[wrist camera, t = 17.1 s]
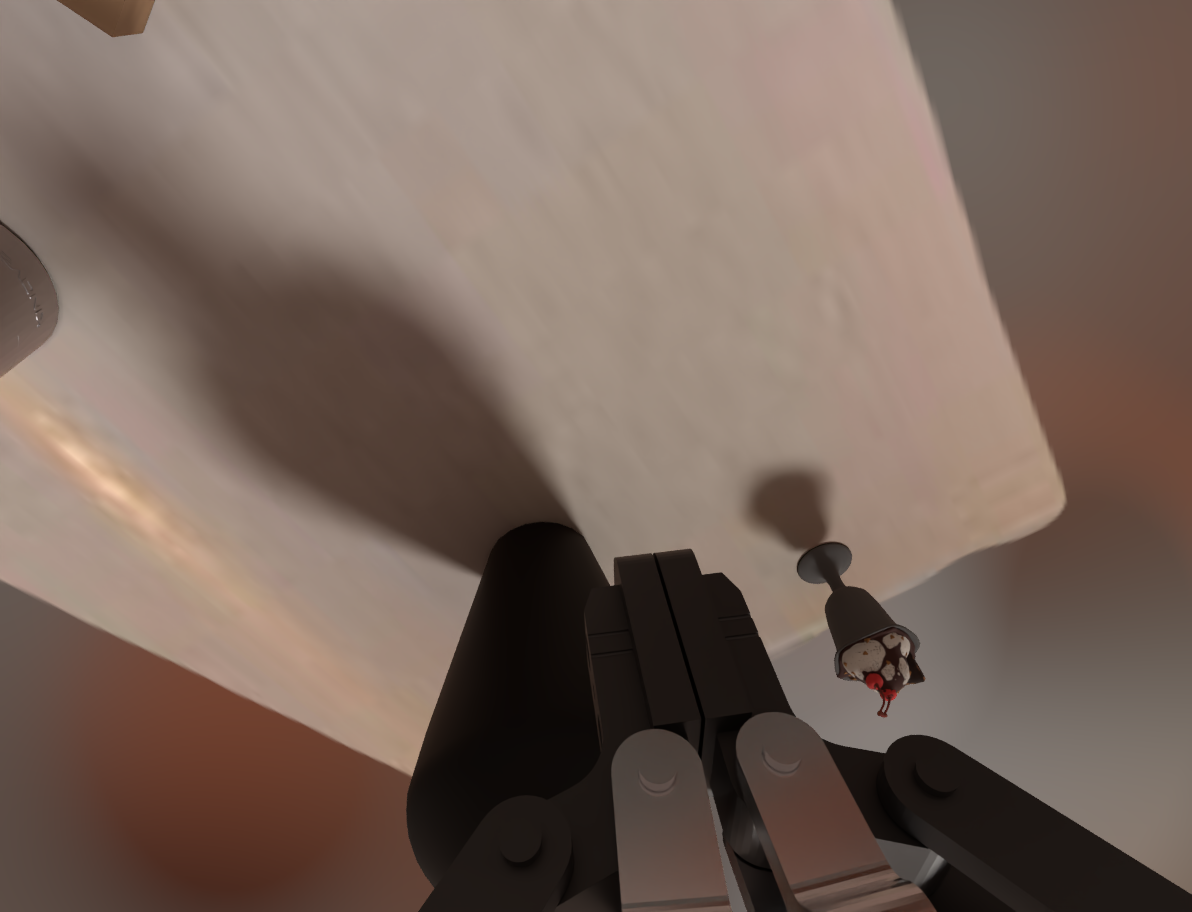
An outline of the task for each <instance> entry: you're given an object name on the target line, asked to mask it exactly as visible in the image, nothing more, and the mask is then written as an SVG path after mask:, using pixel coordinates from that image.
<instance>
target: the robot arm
mask: <svg viewBox="0 0 1192 912" xmlns="http://www.w3.org/2000/svg"><path fill="white" fill-rule="evenodd" d="M58 311H59V306H58V300H57V295H56V291H55V289H54V286H53V284H52V281H51V279H50V277H49V275H48V273H47V272H46V270H45V269H44V267H43V266H42V264H41V263H40V261H39V260H38V258H37V257H36V256H35V255H34V254H33V253H32V252H31V251H30V249H29V248H28V247H27V246H26V245H25V244H24V243H23V242H22V241H21V240H20V239H18V238H17V237H16V236H15V235H14V234H12V233H11V232H10V231H9V230H8V229H6V228H5V227H4V226H2V225H0V378H1V377H2V376H3V375H5V374H6V373H7V372H8V371H10V370H11V369H12V368H14V367H15V366H16V365H17V364H19V363H20V362H21V361H22V360H24V359H25V358H26V357H27V356H29V355H30V354H31V353H32V352H34V351H35V350H36V349H38V348H39V347H40V346H41V345H43V343H44V342H45V341H46V340H47V339H48V338H49V337H50V336H51V335H52V333H53V331H54V329H55V327H56V324H57V320H58ZM584 618H585V633H586V648H587V662H588V669H589V675H590V682H591V688H592V696H593V703H594V709H595V716H596V723H597V730H598V737H599V744H600V750H601V753H600V756H599V759H598V761H597V763H596V765H595V766H594V768H593V769H592V771H591V772H590V773H589V774H588V775H587V776H586V777H585V778H584V779H583V780H582V781H580V782H579V783H577V784H576V785H574V786H573V787H571V788H569V789H567V790H565V791H563V792H561V793H560V794H558V795H556V796H554V797H552V798H550V799H548V800H546V799H544V798H541V797H537V796H530V795H524V796H517V797H513V798H510V799H507V800H505V801H503V802H501V803H500V804H498V805H497V806H495V807H494V808H493V809H492V810H491V811H490V812H489V813H488V814H487V815H486V816H485V817H484V819H483V820H482V821H481V823H480V824H479V826H478V827H477V828H476V830H475V831H474V833H473V834H472V836H471V837H470V838H469V840H468V841H467V843H466V844H465V846H464V847H463V848H462V850H461V851H460V853H459V854H458V856H457V857H456V859H455V860H454V861H453V863H452V864H451V866H450V867H449V869H448V870H447V871H446V873H445V874H444V876H443V877H442V879H441V880H440V881H439V883H438V884H437V886H436V887H435V889H434V890H433V891H432V893H431V894H430V896H429V897H428V899H427V900H426V902H425V903H424V904H423V906H422V907H421V909H420V910H419V911H418V912H732V908H731V905H730V901H729V896H728V891H727V886H726V881H725V876H724V871H723V866H722V861H721V856H720V851H719V846H718V841H717V835H716V830H715V825H714V820H713V815H712V810H711V805H710V800H709V797H714V800H715V804H716V807H717V811H718V815H719V818H720V822H721V825H722V829H723V833H722V835H723V843H724V846H725V849H726V852H727V855H728V858H729V861H730V864H731V867H732V870H733V873H734V875H735V878H736V881H737V884H738V887H739V890H740V892H741V895H742V898H743V901H744V904H745V907H746V910H747V912H1192V894H1190V893H1188V892H1187V891H1185V890H1183V889H1182V888H1180V887H1179V886H1177V885H1175V884H1174V883H1172V882H1171V881H1169V880H1167V879H1166V878H1164V877H1163V876H1161V875H1159V874H1158V873H1156V872H1155V871H1153V870H1151V869H1150V868H1148V867H1147V866H1145V865H1143V864H1142V863H1140V862H1139V861H1137V860H1135V859H1134V858H1132V857H1130V856H1129V855H1127V854H1126V853H1124V852H1122V851H1121V850H1119V849H1118V848H1116V847H1114V846H1113V845H1111V844H1110V843H1108V842H1106V841H1104V840H1103V839H1101V838H1100V837H1098V836H1097V835H1095V834H1093V833H1092V832H1090V831H1089V830H1087V829H1085V828H1084V827H1082V826H1081V825H1079V824H1077V823H1076V822H1074V821H1072V820H1071V819H1069V818H1068V817H1066V816H1064V815H1063V814H1061V813H1059V812H1058V811H1056V810H1055V809H1053V808H1051V807H1050V806H1048V805H1047V804H1045V803H1043V802H1042V801H1040V800H1039V799H1037V798H1035V797H1034V796H1032V795H1031V794H1029V793H1027V792H1026V791H1024V790H1022V789H1021V788H1019V787H1018V786H1016V785H1015V784H1013V783H1011V782H1010V781H1008V780H1006V779H1005V778H1003V777H1002V776H1000V775H998V774H997V773H995V772H993V771H992V770H990V769H989V768H987V767H986V766H984V765H982V764H981V763H979V762H978V761H976V760H974V759H973V758H971V757H969V756H968V755H966V754H965V753H963V752H961V751H960V750H958V749H957V748H955V747H953V746H951V745H950V744H948V743H946V742H944V741H942V740H939V739H937V738H933V737H930V736H924V735H909V736H905V737H902V738H900V739H897V740H896V741H895V742H894V743H892V744H891V745H890V747H889V748H888V750H887V752H886V753H880V752H874V751H868V750H863V749H857V748H851V747H845V746H841V745H837V744H834V743H831V742H828V741H826V740H824V739H822V738H821V737H820V736H819V735H818V734H817V732H816V731H815V730H814V729H813V728H812V727H811V726H809V725H808V724H807V723H805V722H804V721H802V720H801V719H799V718H797V717H796V716H795V715H794V713H793V712H792V710H791V708H790V706H789V704H788V701H787V699H786V697H785V694H784V692H783V690H782V687H781V685H780V683H779V680H778V678H777V675H776V673H775V671H774V668H773V666H772V664H771V661H770V659H769V657H768V654H767V652H766V649H765V647H764V645H763V642H762V640H761V638H760V637H759V635H758V631H757V628H756V626H755V624H754V621H753V619H752V618H751V616H750V612H749V609H748V607H747V605H746V602H745V600H744V598H743V595H742V593H741V591H740V590H739V589H738V588H737V587H736V586H735V585H734V584H733V583H732V582H731V581H730V580H729V579H728V578H727V577H726V576H725V575H724V574H723V573H722V572H721V573H713V574H705V575H702V574H701V571H700V568H699V566H698V563H697V560H696V557H695V555H694V553H693V551H692V550H691V549H684V550H676V551H667V552H659V553H654V554H653V555H652V554H651V553H649V554H641V555H633V556H624V557H616V558H614V586H606V587H598V588H592V589H591V592H590V595H589V598H588V600H587V603H586V606H585V609H584Z"/></svg>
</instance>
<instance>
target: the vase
mask: <svg viewBox="0 0 1192 912" xmlns="http://www.w3.org/2000/svg"><path fill="white" fill-rule="evenodd" d="M606 586H610V584H609V582H608V581H607V579H606V577H605V575H604V573H603V571H602V569H601V567H600V566H599V564H598V562H597V560H596V558H595V556H594V554H593V552H592V551H591V549H590V547H589V545H588V544H587V542H586V540H585V539H584V537H583V536H581V535H580V534H579V533H578V532H576V531H575V530H574V529H572V528H569V527H566V526H564V525H561V524H558V523H547V522H539V523H532V524H525V525H523V526H520V527H518V528H515V529H513V530H510V531H509V532H508V533H507V534H505V535H504V536H503V537H501V538H500V539H499V540H498V542H497V543H496V545H495V546H494V548H493V549H492V551H491V553H490V556H489V559H488V562H487V565H486V567H485V570H484V573H483V576H482V578H481V581H480V584H479V587H478V590H477V592H476V595H475V598H474V601H473V604H472V606H471V609H470V612H469V615H468V617H467V620H466V623H465V626H464V629H463V631H462V634H461V637H460V640H459V643H458V645H457V648H456V651H455V654H454V656H453V659H452V662H451V665H450V668H449V670H448V673H447V676H446V679H445V682H444V684H443V687H442V690H441V693H440V696H439V698H438V701H437V704H436V707H435V709H434V712H433V715H432V718H431V721H430V723H429V726H428V729H427V732H426V735H425V738H424V741H423V744H422V748H421V751H420V754H419V757H418V760H417V763H416V767H415V770H414V773H413V776H412V779H411V783H410V786H409V790H408V793H407V808H406V812H407V827H408V835H409V839H410V842H411V845H412V848H413V852H414V854H415V857H416V860H417V862H418V864H419V866H420V868H421V869H422V871H423V873H424V874H425V876H426V877H427V879H428V880H429V881H430V883H431V884H432V885H433V887H434V888H435V887H436V886H437V884H438V883H439V881H440V880H441V879H442V877H443V876H444V874H445V873H446V871H447V870H448V869H449V867H450V866H451V864H452V863H453V861H454V860H455V859H456V857H457V856H458V854H459V853H460V851H461V850H462V848H463V847H464V846H465V844H466V843H467V841H468V840H469V838H470V837H471V836H472V834H473V833H474V831H475V830H476V828H477V827H478V826H479V824H480V823H481V821H482V820H483V819H484V817H485V816H486V815H487V814H488V813H489V812H490V811H491V810H492V809H493V808H494V807H495V806H497V805H498V804H500V803H501V802H503V801H505V800H507V799H510V798H513V797H517V796H524V795H530V796H537V797H541V798H544V799H546V800H548V799H550V798H552V797H554V796H556V795H558V794H560V793H561V792H563V791H565V790H567V789H569V788H571V787H573V786H574V785H576V784H577V783H579V782H580V781H582V780H583V779H584V778H585V777H586V776H587V775H588V774H589V773H590V772H591V771H592V769H593V768H594V766H595V765H596V763H597V761H598V759H599V756H600V753H601V750H600V744H599V737H598V730H597V723H596V716H595V709H594V703H593V696H592V688H591V682H590V675H589V669H588V662H587V648H586V633H585V618H584V609H585V606H586V603H587V600H588V598H589V595H590V592H591V589H592V588H598V587H606Z"/></svg>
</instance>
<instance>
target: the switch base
mask: <svg viewBox="0 0 1192 912" xmlns="http://www.w3.org/2000/svg"><path fill="white" fill-rule="evenodd" d="M57 1H59V2H60V3H62V4H63V5H65V6H66V7H68V8H69V9H71V10H72V11H74V12H75V13H77V14H78V15H80V16H81V17H83V18H84V19H86V20H87V21H89V22H90V23H92V24H93V25H95V26H96V27H98V28H99V29H101V30H102V31H104V32H105V33H107V34H108V35H110V36H111V37H118V36H125V35H132V34H139V33H143V31H144V28H145V26H146V23H147V20H148V18H149V15H150V12H151V9H152V7H153V4H154V1H155V0H57Z"/></svg>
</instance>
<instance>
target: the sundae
mask: <svg viewBox="0 0 1192 912" xmlns="http://www.w3.org/2000/svg"><path fill="white" fill-rule="evenodd" d="M851 560H852V554H851V551H850V550H849V548H847V547H846V546H844V545H842V544H835V543H830V544H824V545H820V546H818V547H816V548H814V549H812V550H810V551H809V552H808V553H807V554H806V555H805V556H804V557H803V558H802V559H801V561H800V563H799V565H798V574H799V576H800V577H801V579H803V580H804V581H806V582H808V583H813V584H820V583H825V582H827V583H828V584H829V585H830V587H831V589H832V591H833V593H832V594H831V595H830V597H829V598H828V600H827V603H826V605H825V613H826V618H827V622H828V626H829V629H830V632H831V634H832V637H833V640H834V643H835V646H836V649H837V652H836V654H835V658H834V659H835V660H834V661H835V671H836V675H837V677H838V678H841V679H843V680H848V681H861V682H863V683H865V684H866V685H867V686H868V687H869V688H870V689H872V690H874V691H875V692H878V693H879V694H880V696H881V698H882V699H883V705H882V707H881V709H880V711H878V713H877V714H878V716H881V717H887V714H886V712H887V710H888V708H889V705H890V701H891V700H893V699H895V698H896V696H897V694H896V693H899V691H900V690H901V689H903V688H904V686H905V685H908V684H916V683H920V682H924V681H925V677H924V675H923V673H922V671H921V670H920V668H919V666H918V664H917V663H916V661H915V653H916V652H917V650H918V648H919V646H920V642H919V639H918V638H917V636H916V635H915V634H914V633H912V632H911V631H910V630H909V629H907V628H906V627H903V626H901V625H897V624H896V623H895V622H894V621H893V620H892V619H891V618H890V617H889V615H888V614H887V613H886V611H885V610H884V609H883V608H882V607H881V605H880V604H879V603H878V602H877V601H876V600H875V599H874V598H873V597H872V596H871V595H870V594H869V593H868V592H867V591H866V590H864V589H862V588H857V587H851V586H848V587H846V586H845V585H844V584H843V582H842V580H841V578H840V575H842V574H843V573H844V572H845V571H846V570H847V569H848V568H849V566H850V564H851ZM885 700H886V701H888V705H887V708H886V710H885V712H884V713H883V712H882V709H883V707H884V705H885Z"/></svg>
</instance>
